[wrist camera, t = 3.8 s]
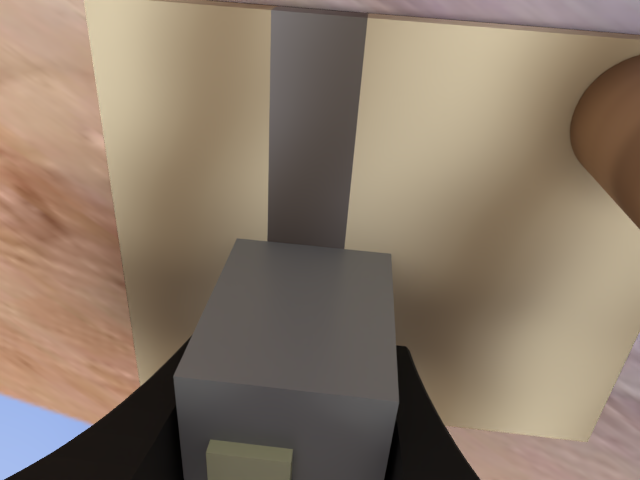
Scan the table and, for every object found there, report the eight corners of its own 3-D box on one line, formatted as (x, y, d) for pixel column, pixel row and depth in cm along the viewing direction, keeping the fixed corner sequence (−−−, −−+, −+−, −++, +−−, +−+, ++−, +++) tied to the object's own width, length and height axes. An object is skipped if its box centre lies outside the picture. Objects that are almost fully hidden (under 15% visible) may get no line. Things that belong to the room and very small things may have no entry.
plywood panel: (747, 43, 11) (771, 50, 10) (578, 421, 17) (587, 442, 16) (99, -9, 12) (83, -6, 11) (149, 372, 17) (140, 390, 17)
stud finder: (391, 253, 13) (399, 415, 9) (368, 405, 16) (365, 589, 12) (237, 238, 14) (167, 388, 9) (239, 391, 16) (187, 566, 12)
